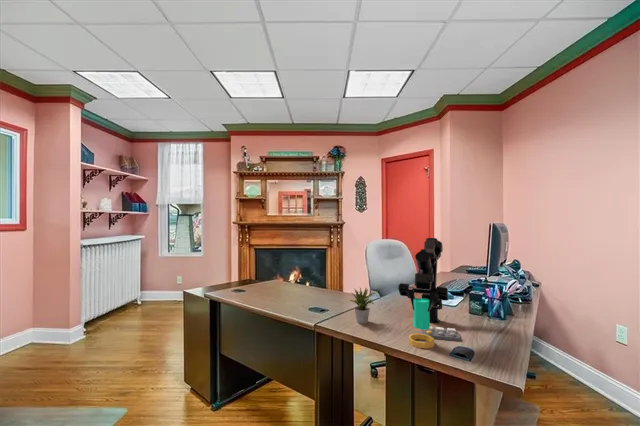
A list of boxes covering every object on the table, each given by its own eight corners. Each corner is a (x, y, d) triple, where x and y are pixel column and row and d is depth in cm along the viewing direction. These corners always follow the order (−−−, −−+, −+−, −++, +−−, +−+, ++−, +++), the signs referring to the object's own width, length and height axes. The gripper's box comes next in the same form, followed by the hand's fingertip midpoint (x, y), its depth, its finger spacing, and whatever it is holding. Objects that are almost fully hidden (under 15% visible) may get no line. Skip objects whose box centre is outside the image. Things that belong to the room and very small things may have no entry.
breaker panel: (422, 329, 134) (422, 324, 134) (456, 333, 130) (456, 327, 130) (423, 337, 125) (423, 331, 125) (460, 341, 121) (460, 335, 121)
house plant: (378, 329, 135) (377, 291, 135) (346, 326, 137) (346, 290, 138) (378, 318, 149) (378, 285, 149) (349, 317, 151) (349, 283, 152)
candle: (431, 326, 120) (431, 295, 120) (427, 330, 115) (426, 298, 115) (416, 322, 123) (416, 293, 124) (411, 327, 119) (411, 296, 119)
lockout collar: (408, 337, 125) (408, 332, 125) (432, 340, 122) (432, 335, 122) (409, 346, 116) (409, 341, 116) (435, 349, 113) (435, 344, 113)
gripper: (399, 263, 127) (392, 296, 117) (447, 266, 119) (445, 302, 109) (403, 279, 134) (397, 311, 124) (449, 283, 126) (447, 318, 116)
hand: (420, 310), depth 118 cm, fingers closed on candle, 5 cm apart
